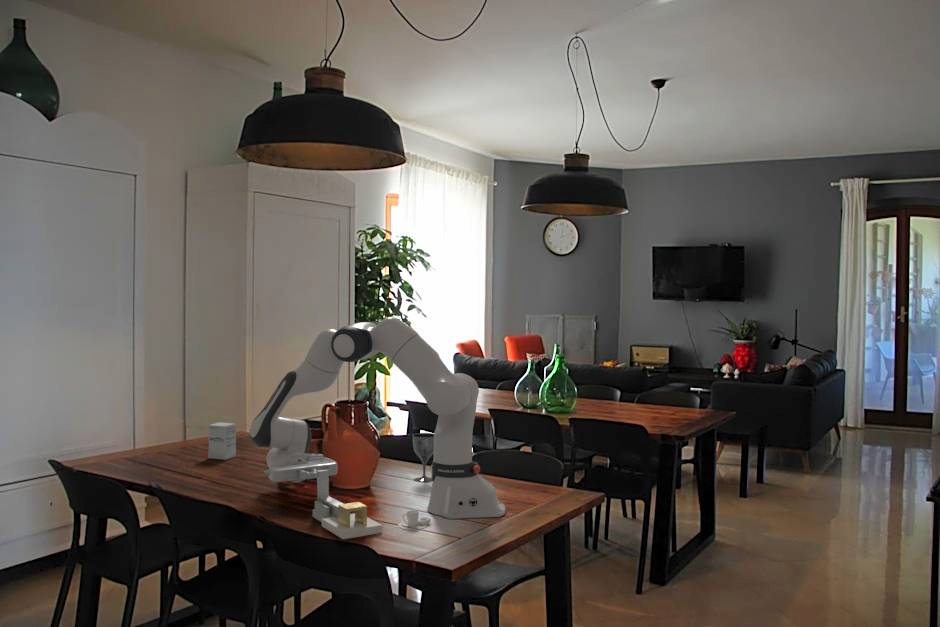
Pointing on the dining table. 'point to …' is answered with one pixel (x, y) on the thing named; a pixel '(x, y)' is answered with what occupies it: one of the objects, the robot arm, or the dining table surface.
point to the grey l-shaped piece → (326, 492)
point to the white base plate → (351, 527)
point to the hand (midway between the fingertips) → (313, 475)
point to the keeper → (349, 507)
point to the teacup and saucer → (414, 520)
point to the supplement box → (222, 440)
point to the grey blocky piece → (321, 511)
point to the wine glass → (423, 451)
